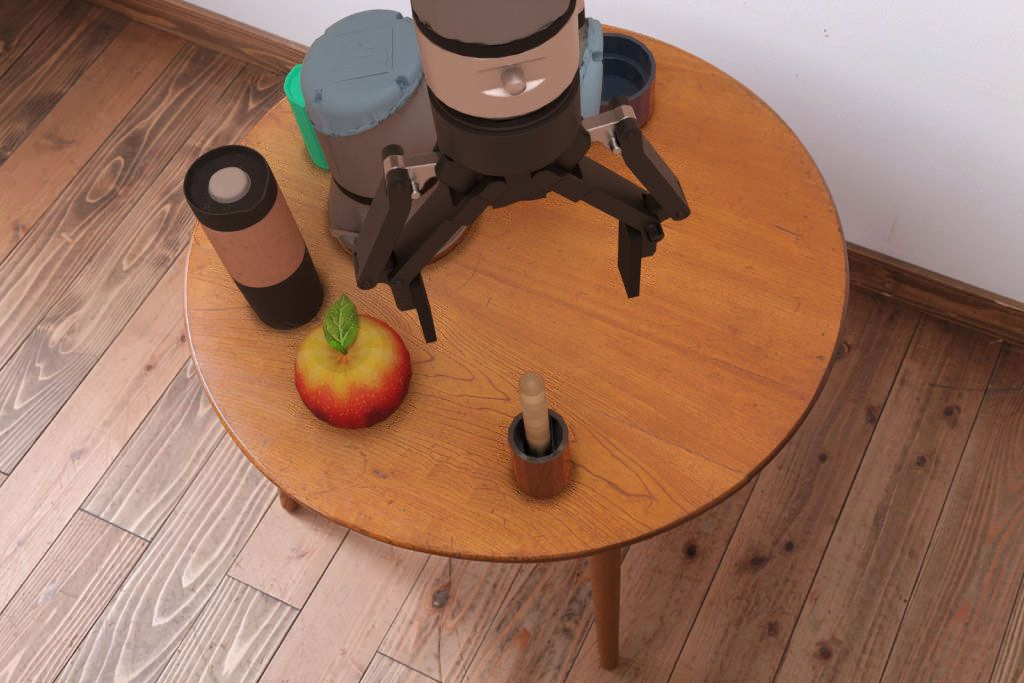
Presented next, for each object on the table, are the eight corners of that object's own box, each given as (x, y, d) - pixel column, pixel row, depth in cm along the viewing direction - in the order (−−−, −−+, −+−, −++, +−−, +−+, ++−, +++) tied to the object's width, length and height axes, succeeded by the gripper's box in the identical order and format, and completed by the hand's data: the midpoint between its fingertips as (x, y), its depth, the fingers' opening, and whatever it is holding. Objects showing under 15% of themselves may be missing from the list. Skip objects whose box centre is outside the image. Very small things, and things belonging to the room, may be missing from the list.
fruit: (302, 445, 96) (272, 400, 87) (313, 343, 101) (286, 290, 92) (415, 442, 95) (397, 397, 86) (421, 340, 100) (404, 287, 91)
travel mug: (253, 271, 105) (184, 147, 88) (327, 263, 105) (272, 138, 87) (250, 336, 102) (177, 220, 84) (326, 328, 101) (269, 211, 84)
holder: (510, 453, 94) (501, 414, 86) (564, 442, 94) (561, 401, 86) (521, 504, 91) (513, 468, 83) (576, 492, 92) (574, 455, 84)
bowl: (552, 82, 114) (550, 43, 109) (639, 64, 115) (641, 24, 109) (573, 150, 110) (571, 113, 104) (663, 131, 110) (667, 93, 105)
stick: (529, 462, 93) (514, 369, 76) (551, 458, 93) (541, 363, 76) (534, 483, 92) (520, 393, 75) (556, 478, 92) (546, 387, 75)
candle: (298, 148, 113) (267, 72, 102) (341, 118, 114) (315, 39, 104) (330, 179, 110) (302, 105, 100) (374, 148, 112) (350, 71, 101)
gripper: (254, 182, 47) (351, 393, 65) (777, 70, 48) (728, 308, 66) (242, 68, 51) (337, 297, 69) (726, -34, 52) (693, 218, 70)
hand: (528, 303), depth 68 cm, fingers open, 13 cm apart
